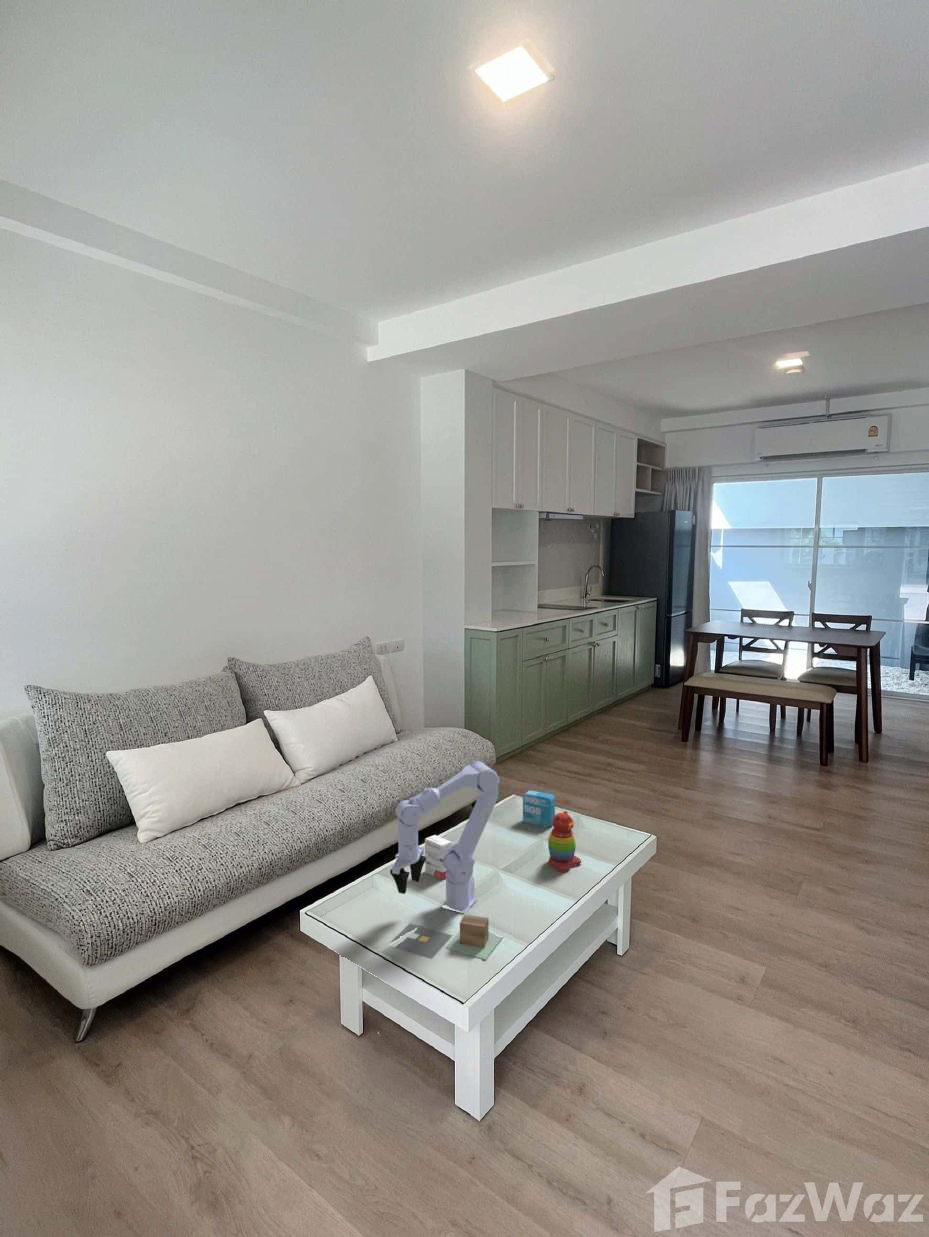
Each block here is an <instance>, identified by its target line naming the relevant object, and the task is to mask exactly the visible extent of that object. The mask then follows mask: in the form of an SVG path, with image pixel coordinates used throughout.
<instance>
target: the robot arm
mask: <svg viewBox="0 0 929 1237" xmlns="http://www.w3.org/2000/svg"><path fill="white" fill-rule="evenodd" d="M500 782H501V779H500V776H498V773H497V772H496V771H495V770H494V769H492V768H490V767H489V766H488V765H487V764H485V763H484V762H482V761H481V760H475V761H472V762H471V763H470V764H468V765H466V766H464V767H463V769H462V770H460V772H458V773H457V774H455V775H454V776H453V777H451V778H449V779H448V780H447V781H445V782H443V783H441V784H440V785H439V786H437V787H425V788H424V789H423V790H422V791H421V792H420V793H418V794H417V795H415V796H411V797H409V799H407V800H402V801H401V802H399V803H398V804H397V806H396V808H395V810H394V814H395V816H396V817H397V818H398V819H397V824H398V825H397V833H398V834H397V841H398V844H397V845H398V847H397V848H398V853H397V854H395V858H396V860H395V862H394V865H393V866H392V868H391V869H390V871H389V872H390V875H391V876H392V878H393V880H394V882H395V884H396V885H395V886H396V888H397V891H398V893H399V894H402V895H405V894H406V892H407V886H408V884H407V883H408V879H409V876H410V878H411V881H412V882H417V883H418V882H420V878H421V876H422V875H421V874H422V869H423V866H425V861H426V857H425V847H423V846H419V831H418V830H419V828H418V827H419V826H418V823H419V821H420V820H421V819H422V817H423V816H424V815H425V814H427V813H428V812H430V811H432V810H434V809H435V808H437V807H438V806H440V805H441V803H442V800H443V799H445V798H446V797H448V796H449V795H452V794H453V793H456V792H457V791H459V790H462V789H463V788H466V787H468V788H474V789H476V790H477V793H478V798H477V800H476V802H475V805H474V806H473V809H472V810H471V813H470V815H469V818H468V819H467V822H466V824H465V827H464V828H463V831H462V832H461V835H460V838H459V840H458V842H457V843H454V844H452V847H451V849H450V851H449V852H448V853H447V854H446V855H445V856H444V858H443V866H444V867H445V868H446V869H447V873H446V878H445V896H446V897H445V901H444V902H443V904H442V905H447V906H449V907H450V908H452V909H455V910H459V911H461V912H463V911H464V912H463V913H465V912H467V911H469V910H470V908H471V907H472V906H473V904H475V902H477V901H478V897H475V878H474V876H473V872H474V865H475V863H476V858H475V857H476V856H475V850H476V848H477V846H478V843H479V841H480V839H481V836H482V834H483V832H484V830H485V827H486V825H487V823H488V821H489V819H490V817H491V814H492V812H493V810H494V807H495V805H496V804H497V801H498V799H499V785H500ZM405 867H409V868H410V871H407V870H405ZM465 914H466V913H465Z"/></svg>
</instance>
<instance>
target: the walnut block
mask: <svg viewBox="0 0 929 1237" xmlns="http://www.w3.org/2000/svg"><path fill="white" fill-rule="evenodd" d="M489 924H490V922H489V917H485V916H478V915H470V914H466V913H465V914H463V915H462V918H461V919H460V922H459V932H460V944H464V945H470V946H477V947H483V948H485V946H486V943H487V941H488V939H489V932H490V931H489V929H490V928H489Z"/></svg>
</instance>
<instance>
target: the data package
mask: <svg viewBox="0 0 929 1237" xmlns="http://www.w3.org/2000/svg"><path fill="white" fill-rule="evenodd" d="M555 815H556V797H555V795H553V794H551V793H546V792H541V791H535V790H530V789H529V790H528V791H527V792H525V793H524V794H523V795H522V820H523V822H524V823H526V824H529V825H530V824H531V825H533V824H534V825H535V826H538V827H539V826H540V827H543V826H545V827H544V828H550V827H551V826H553V817H554V816H555ZM534 825H533V826H534Z"/></svg>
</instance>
